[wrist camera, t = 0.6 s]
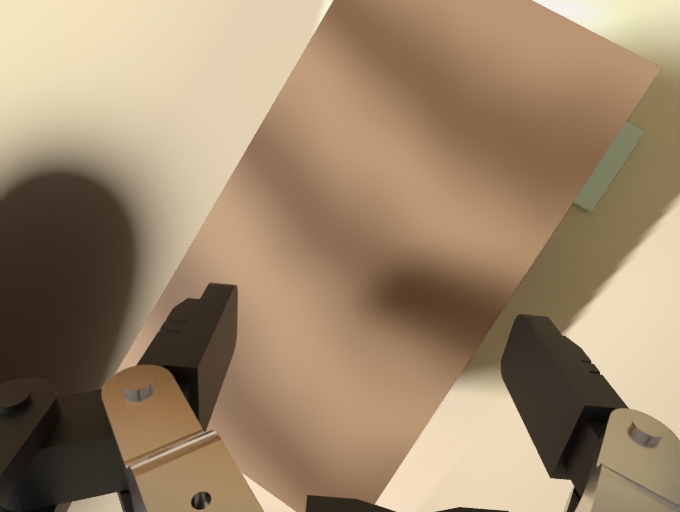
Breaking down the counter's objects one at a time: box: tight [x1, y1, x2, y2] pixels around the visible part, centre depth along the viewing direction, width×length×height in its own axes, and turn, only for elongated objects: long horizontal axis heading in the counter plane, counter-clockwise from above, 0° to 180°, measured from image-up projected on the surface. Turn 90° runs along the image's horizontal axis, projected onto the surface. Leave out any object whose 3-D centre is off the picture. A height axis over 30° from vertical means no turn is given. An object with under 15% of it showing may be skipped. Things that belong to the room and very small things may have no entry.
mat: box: [573, 121, 645, 212], centre depth 34 cm, size 7×7×1 cm
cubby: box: [116, 0, 661, 512], centre depth 26 cm, size 20×11×20 cm, turn 148°
